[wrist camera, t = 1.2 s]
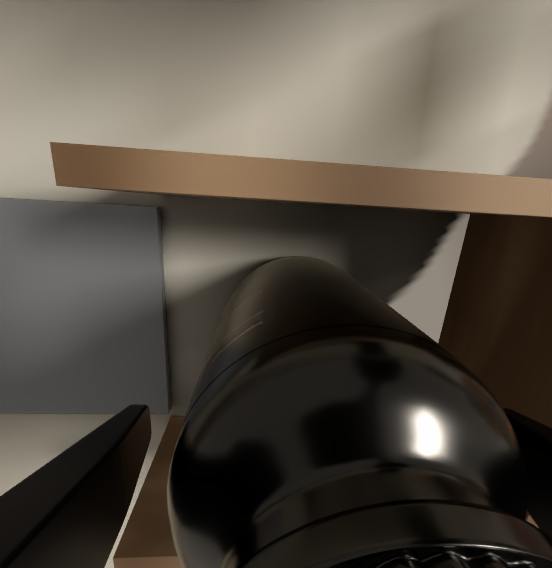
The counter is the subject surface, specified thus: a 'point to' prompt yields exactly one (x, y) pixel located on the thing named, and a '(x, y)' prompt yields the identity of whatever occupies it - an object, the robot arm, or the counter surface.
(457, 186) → the open box
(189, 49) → the counter surface
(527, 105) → the counter surface
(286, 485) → the supplement bottle
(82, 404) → the mat
